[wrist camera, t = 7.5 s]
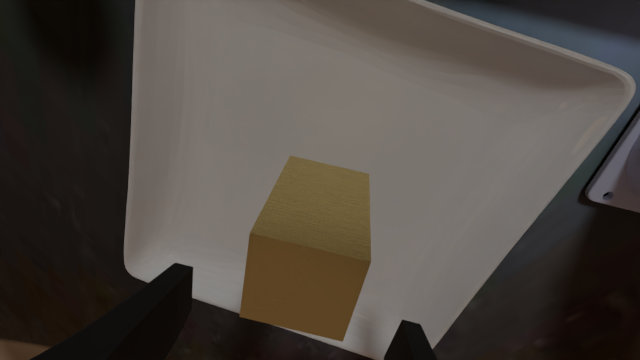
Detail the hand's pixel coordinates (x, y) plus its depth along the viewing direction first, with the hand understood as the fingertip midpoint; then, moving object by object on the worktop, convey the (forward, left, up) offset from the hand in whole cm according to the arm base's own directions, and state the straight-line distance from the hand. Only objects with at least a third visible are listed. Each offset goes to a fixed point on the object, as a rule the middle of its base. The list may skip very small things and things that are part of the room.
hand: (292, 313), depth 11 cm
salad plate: (0, 0, -11) cm, 11 cm away
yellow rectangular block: (0, 0, -7) cm, 7 cm away
